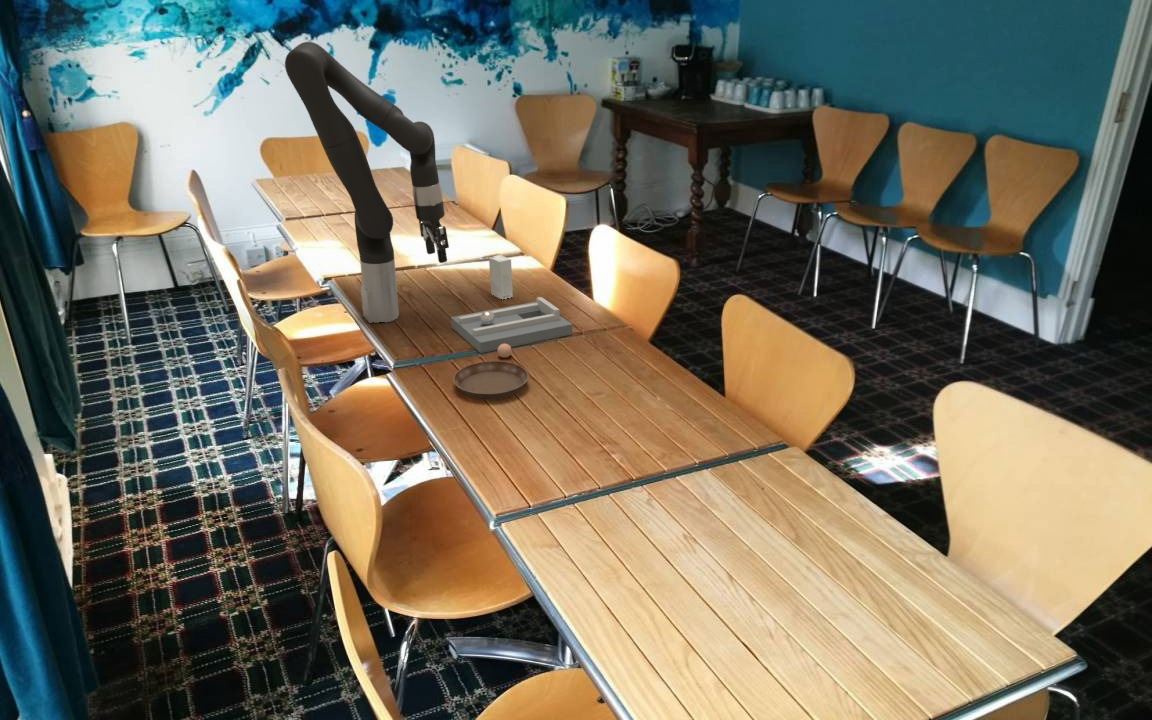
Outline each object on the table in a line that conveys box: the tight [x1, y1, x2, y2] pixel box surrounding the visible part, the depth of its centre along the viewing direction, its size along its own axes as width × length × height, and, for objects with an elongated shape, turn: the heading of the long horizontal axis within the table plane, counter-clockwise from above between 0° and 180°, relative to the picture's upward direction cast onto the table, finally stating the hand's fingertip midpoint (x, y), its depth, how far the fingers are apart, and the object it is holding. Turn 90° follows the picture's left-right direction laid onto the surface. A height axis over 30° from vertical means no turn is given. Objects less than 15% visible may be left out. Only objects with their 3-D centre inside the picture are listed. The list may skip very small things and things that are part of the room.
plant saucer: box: [452, 360, 529, 401], centre depth 209 cm, size 18×18×3 cm
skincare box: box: [488, 254, 514, 301], centre depth 263 cm, size 6×4×12 cm
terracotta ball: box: [496, 344, 513, 359], centre depth 224 cm, size 4×4×4 cm
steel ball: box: [480, 310, 495, 326], centre depth 236 cm, size 4×4×4 cm
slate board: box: [450, 296, 573, 354], centre depth 240 cm, size 27×20×6 cm
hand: (437, 257), depth 240 cm, fingers open, 8 cm apart
